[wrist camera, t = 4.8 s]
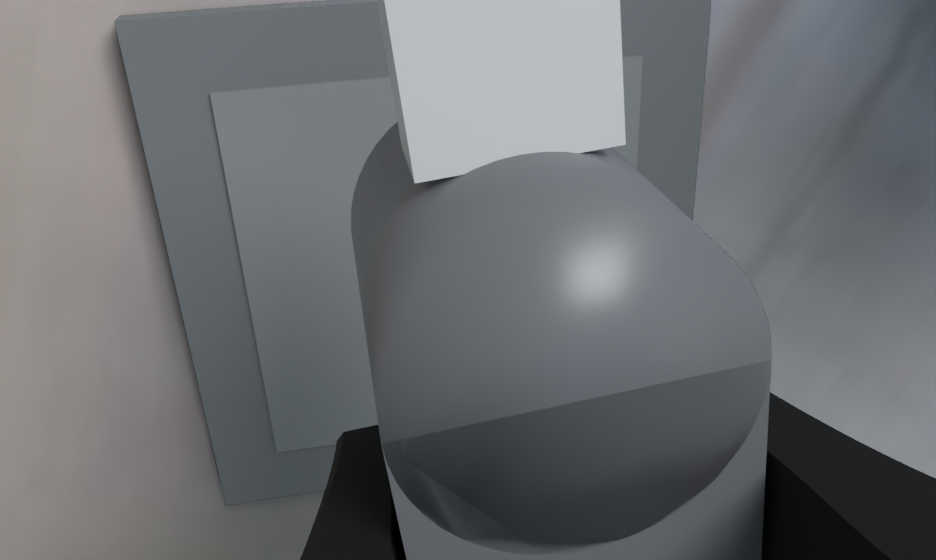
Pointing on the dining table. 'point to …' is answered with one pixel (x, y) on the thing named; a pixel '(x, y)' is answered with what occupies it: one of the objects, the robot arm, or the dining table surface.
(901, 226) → the dining table surface
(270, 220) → the coaster
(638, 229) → the plug
